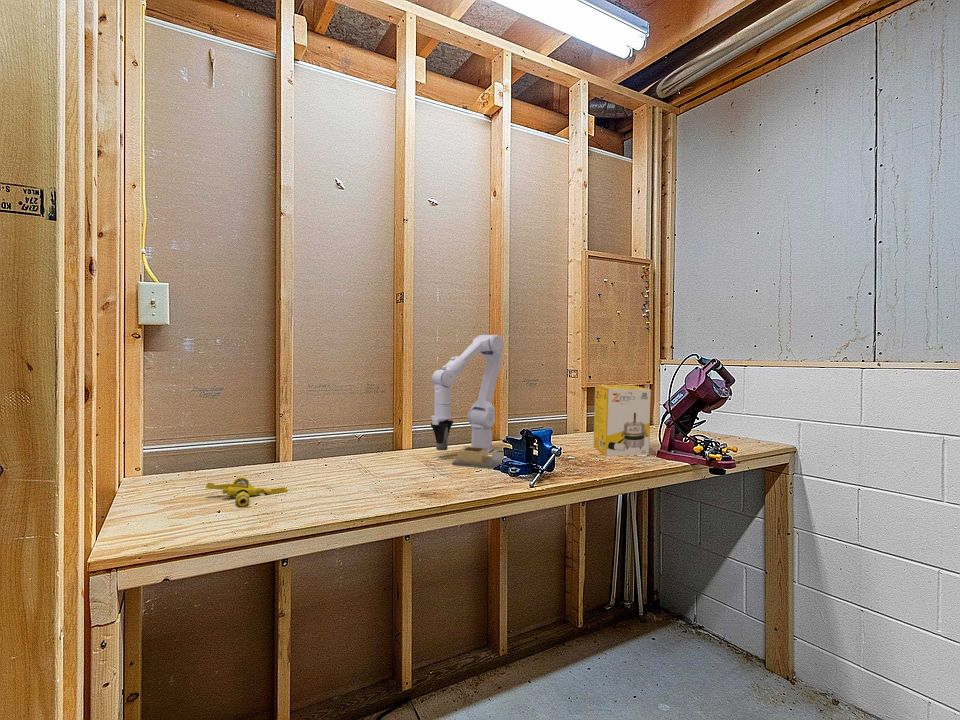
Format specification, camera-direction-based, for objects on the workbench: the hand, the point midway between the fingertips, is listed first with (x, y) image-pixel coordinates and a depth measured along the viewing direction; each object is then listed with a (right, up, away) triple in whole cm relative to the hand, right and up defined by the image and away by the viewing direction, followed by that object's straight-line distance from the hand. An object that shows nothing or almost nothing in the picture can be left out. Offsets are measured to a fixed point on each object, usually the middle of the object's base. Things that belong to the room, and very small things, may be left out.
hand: (442, 442), depth 177 cm
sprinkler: (-46, -7, -49) cm, 67 cm away
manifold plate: (+14, -6, -7) cm, 17 cm away
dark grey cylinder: (0, -3, 0) cm, 2 cm away
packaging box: (+68, -7, +17) cm, 70 cm away
